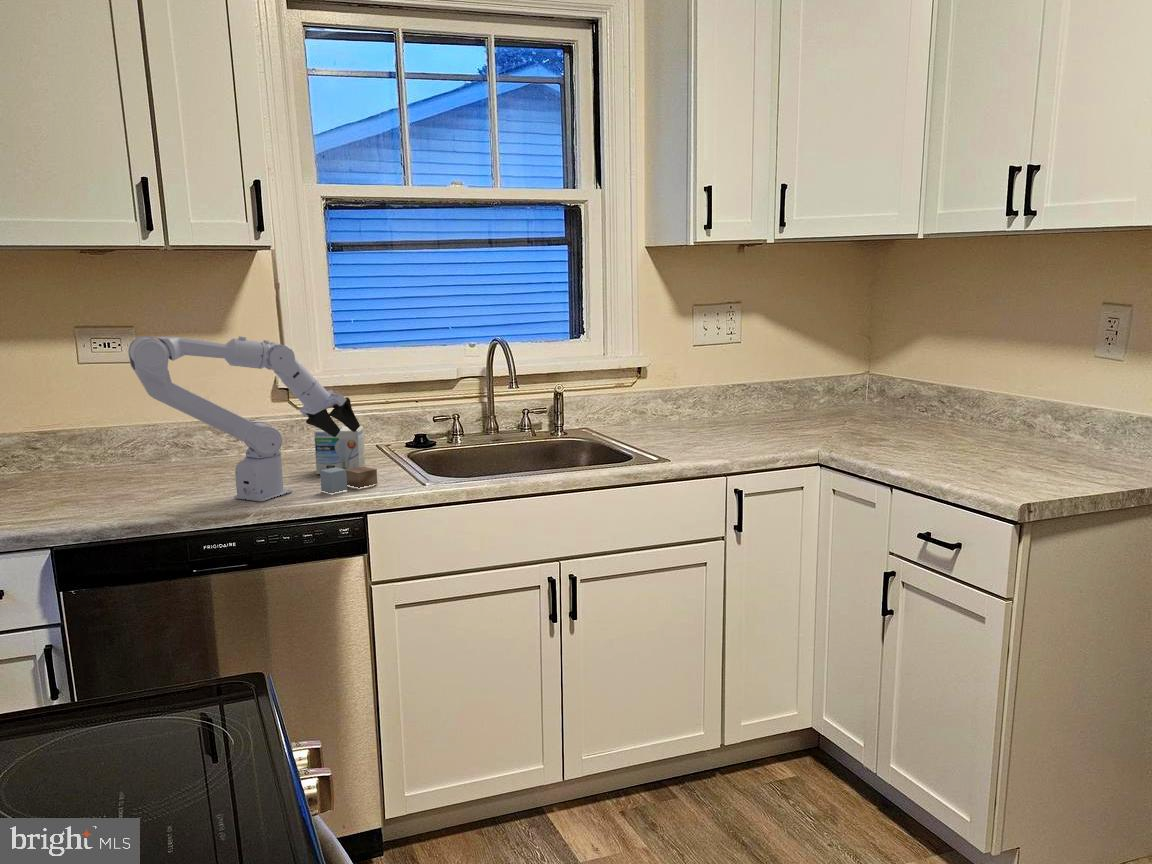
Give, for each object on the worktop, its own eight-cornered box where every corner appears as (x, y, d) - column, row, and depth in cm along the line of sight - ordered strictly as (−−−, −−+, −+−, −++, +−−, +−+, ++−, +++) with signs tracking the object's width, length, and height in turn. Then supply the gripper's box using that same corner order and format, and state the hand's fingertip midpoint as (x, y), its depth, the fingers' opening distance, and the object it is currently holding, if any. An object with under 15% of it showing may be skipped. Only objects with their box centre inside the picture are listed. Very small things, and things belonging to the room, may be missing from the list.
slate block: (331, 495, 194) (330, 472, 193) (321, 492, 196) (319, 470, 196) (347, 491, 197) (346, 469, 196) (336, 489, 199) (335, 467, 199)
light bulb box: (315, 475, 213) (313, 431, 211) (322, 469, 220) (320, 426, 218) (360, 474, 214) (358, 430, 212) (366, 468, 220) (364, 425, 218)
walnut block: (359, 490, 198) (358, 472, 198) (345, 487, 202) (344, 469, 201) (377, 486, 202) (376, 469, 201) (364, 483, 205) (363, 466, 205)
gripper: (335, 369, 194) (375, 413, 200) (298, 382, 203) (337, 424, 209) (317, 391, 189) (358, 435, 196) (280, 403, 199) (321, 445, 205)
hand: (347, 431), depth 202 cm, fingers open, 7 cm apart
